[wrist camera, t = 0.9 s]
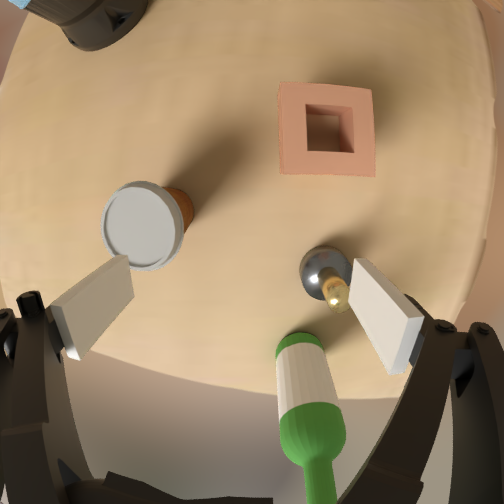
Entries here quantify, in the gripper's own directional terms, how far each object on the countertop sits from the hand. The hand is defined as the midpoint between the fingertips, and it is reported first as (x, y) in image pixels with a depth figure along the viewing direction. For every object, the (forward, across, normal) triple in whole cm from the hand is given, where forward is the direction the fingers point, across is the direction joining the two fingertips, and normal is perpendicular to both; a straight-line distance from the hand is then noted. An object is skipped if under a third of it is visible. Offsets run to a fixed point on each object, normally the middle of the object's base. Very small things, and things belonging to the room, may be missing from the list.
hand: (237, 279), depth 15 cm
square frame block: (+16, +8, +10) cm, 21 cm away
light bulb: (+22, +10, -8) cm, 26 cm away
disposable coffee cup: (+22, -11, 0) cm, 25 cm away
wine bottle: (+22, +8, -22) cm, 32 cm away
